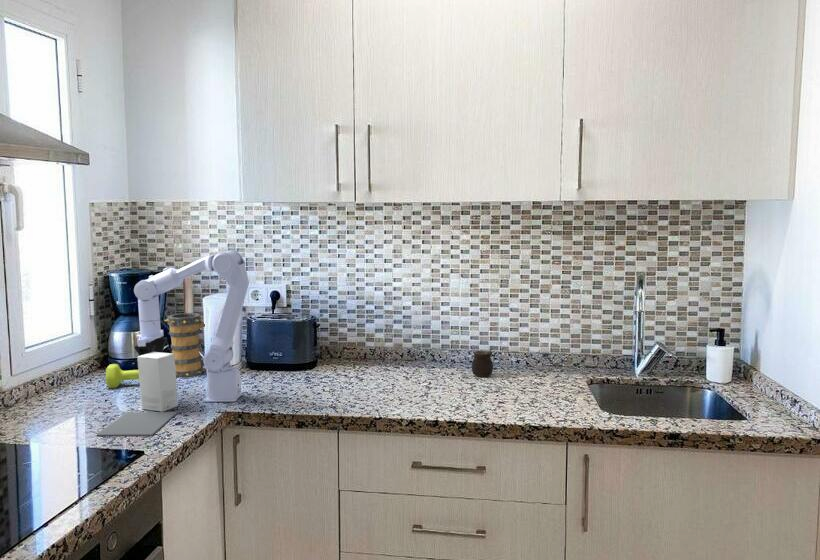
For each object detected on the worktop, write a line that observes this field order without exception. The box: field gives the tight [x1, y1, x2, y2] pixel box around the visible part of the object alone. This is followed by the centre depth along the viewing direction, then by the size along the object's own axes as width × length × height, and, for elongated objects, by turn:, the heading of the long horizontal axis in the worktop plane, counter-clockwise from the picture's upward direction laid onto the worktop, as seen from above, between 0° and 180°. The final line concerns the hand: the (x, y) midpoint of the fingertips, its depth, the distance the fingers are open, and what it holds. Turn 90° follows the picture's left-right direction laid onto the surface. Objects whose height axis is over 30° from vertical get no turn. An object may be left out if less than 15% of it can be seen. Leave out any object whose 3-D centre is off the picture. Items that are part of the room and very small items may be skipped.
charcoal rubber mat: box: [96, 411, 178, 437], centre depth 183 cm, size 14×18×1 cm
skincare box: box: [136, 352, 179, 412], centre depth 196 cm, size 8×7×16 cm
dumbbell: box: [105, 363, 139, 389], centre depth 220 cm, size 16×8×7 cm, turn 101°
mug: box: [163, 312, 206, 379], centre depth 234 cm, size 13×17×20 cm
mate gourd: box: [471, 347, 494, 378], centre depth 227 cm, size 7×8×10 cm
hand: (152, 365), depth 205 cm, fingers open, 7 cm apart
